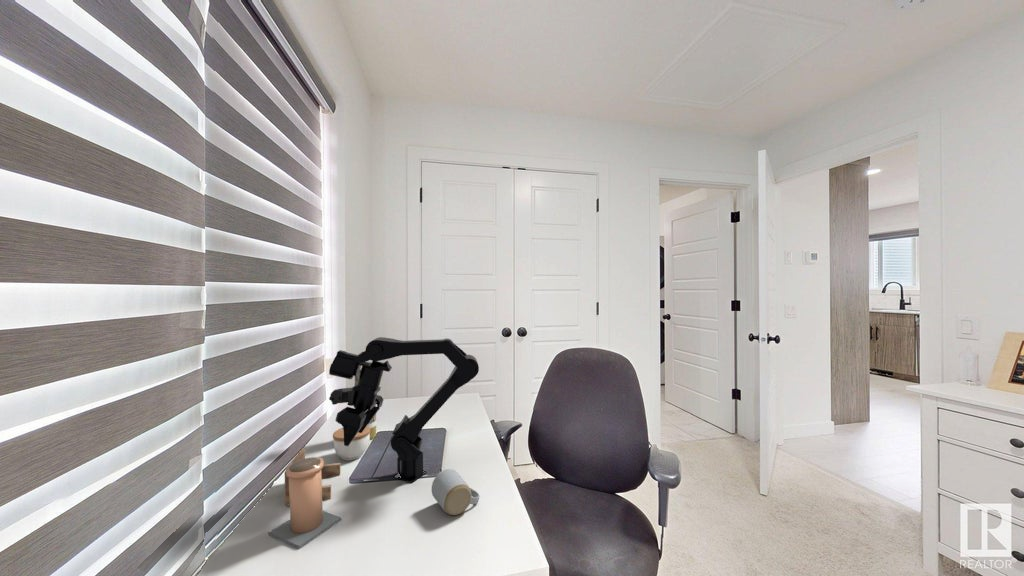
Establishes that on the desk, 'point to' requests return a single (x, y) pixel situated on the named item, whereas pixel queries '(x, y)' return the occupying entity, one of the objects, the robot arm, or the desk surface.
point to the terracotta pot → (305, 494)
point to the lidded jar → (351, 444)
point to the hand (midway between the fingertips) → (353, 438)
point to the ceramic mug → (453, 492)
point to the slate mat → (302, 539)
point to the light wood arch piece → (325, 472)
